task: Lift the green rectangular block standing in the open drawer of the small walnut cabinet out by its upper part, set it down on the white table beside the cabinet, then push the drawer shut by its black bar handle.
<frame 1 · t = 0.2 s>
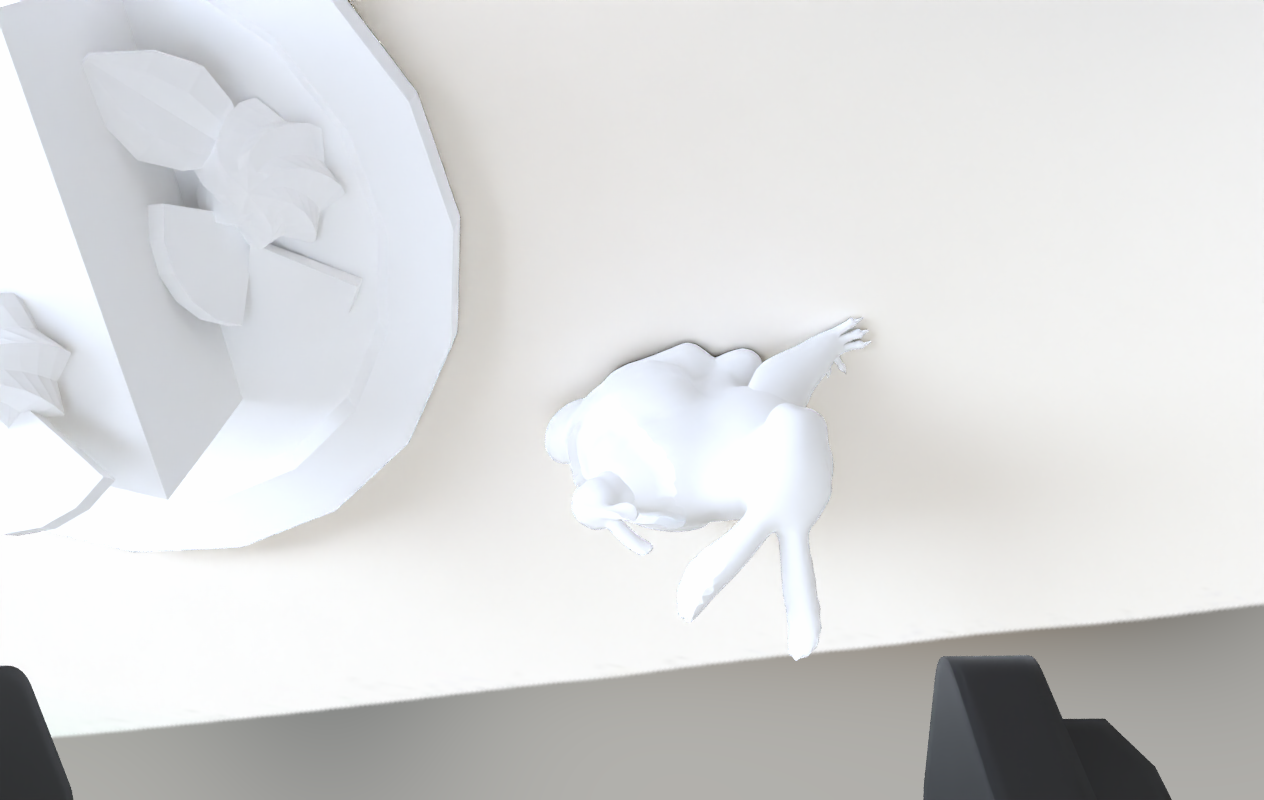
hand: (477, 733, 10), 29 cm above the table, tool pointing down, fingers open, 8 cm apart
rabbit figurine: (712, 421, 42), on the table
dish: (112, 238, 39), on the table
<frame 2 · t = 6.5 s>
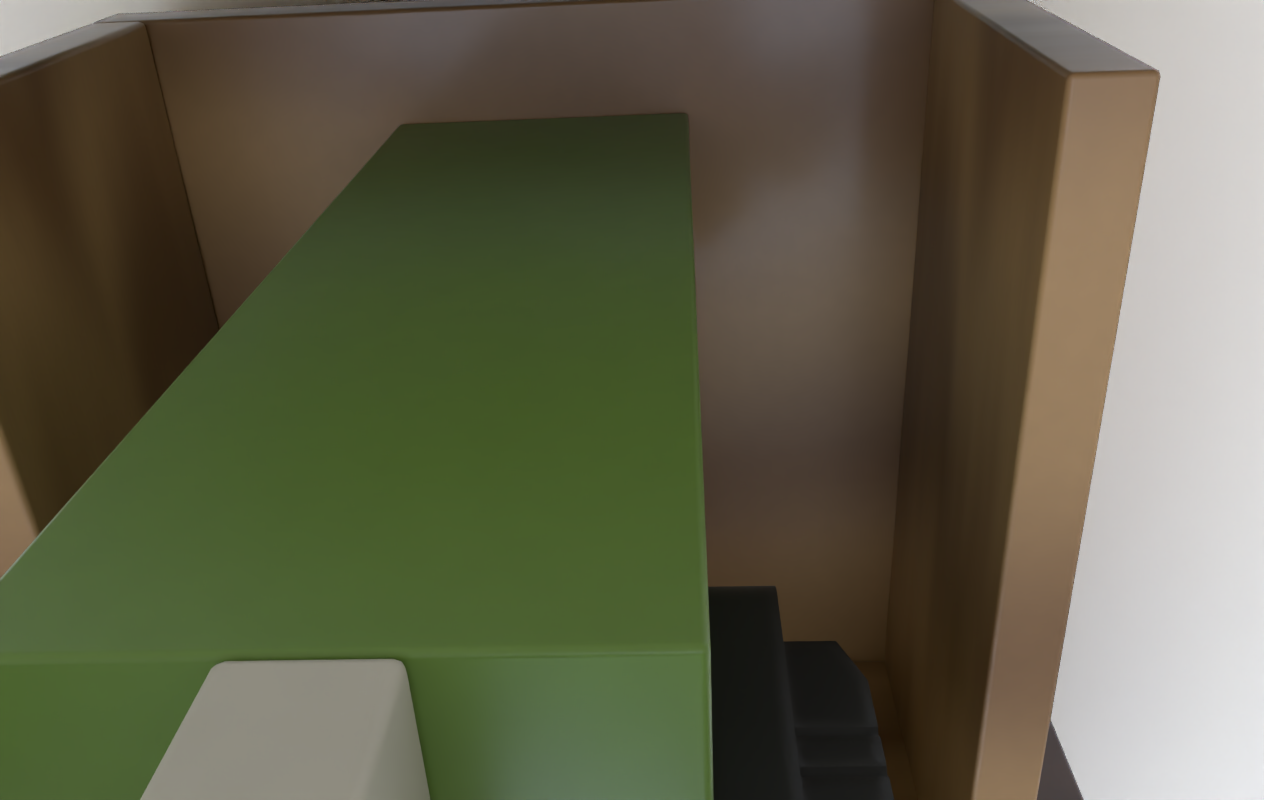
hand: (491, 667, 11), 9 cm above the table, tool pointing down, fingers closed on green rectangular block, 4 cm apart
drawer: (526, 206, 13), point 4 cm above the table, slide at 12.0 cm, touching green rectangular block
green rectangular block: (562, 348, 17), point 2 cm above the table, touching drawer, gripper
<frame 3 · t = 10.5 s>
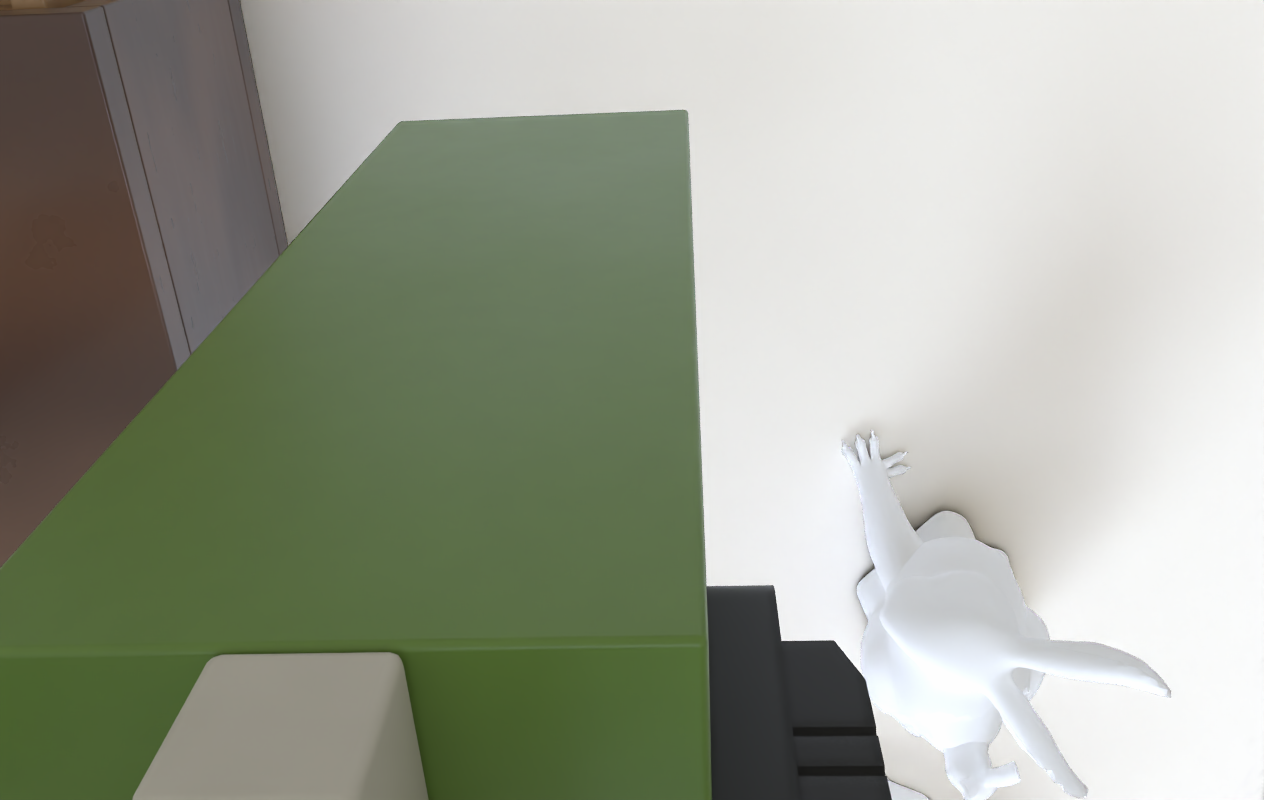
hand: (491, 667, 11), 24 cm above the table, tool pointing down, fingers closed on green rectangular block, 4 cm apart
cabinet: (53, 242, 35), on the table
rabbit figurine: (953, 562, 40), on the table
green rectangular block: (562, 345, 17), point 17 cm above the table, touching gripper
when the fingers open (7 cm above the table, at t = 14.6 s): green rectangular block stays where it is, on the table.
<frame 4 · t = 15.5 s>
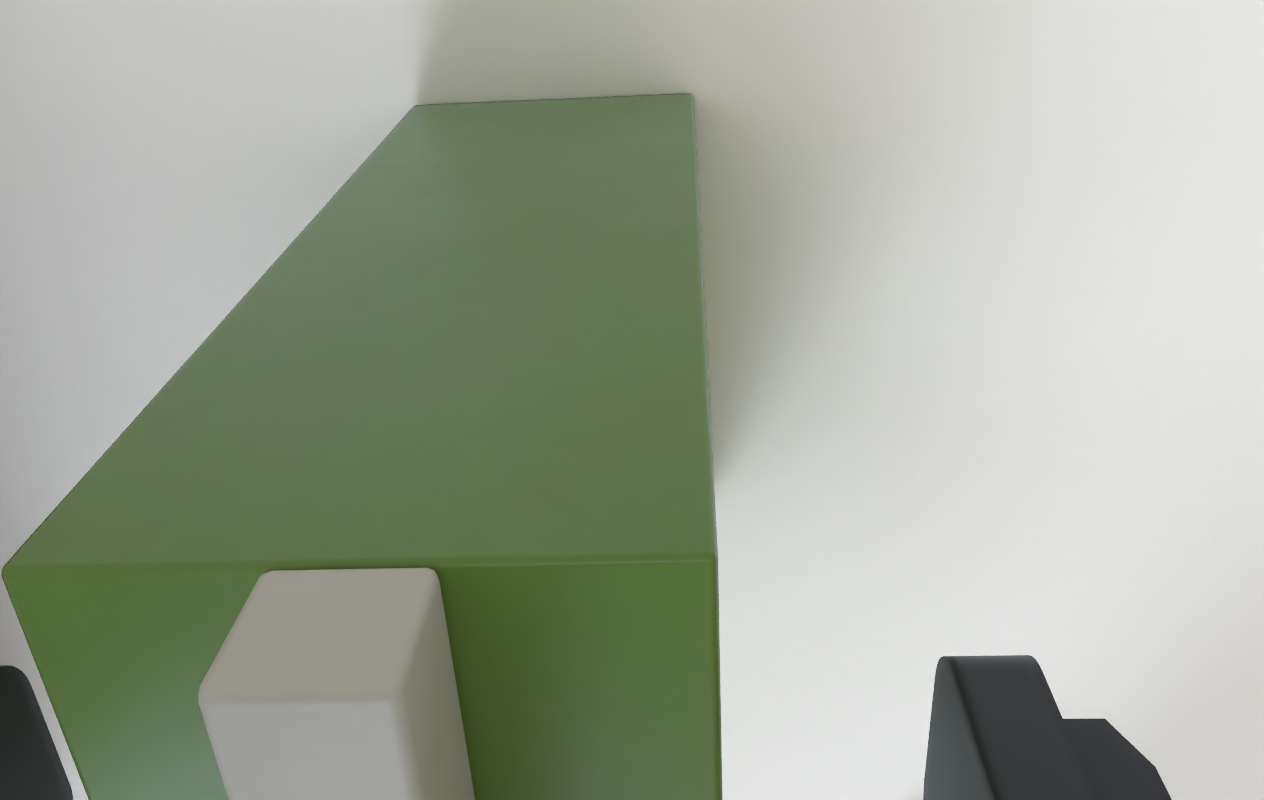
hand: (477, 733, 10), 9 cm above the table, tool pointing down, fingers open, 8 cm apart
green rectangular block: (571, 324, 17), on the table
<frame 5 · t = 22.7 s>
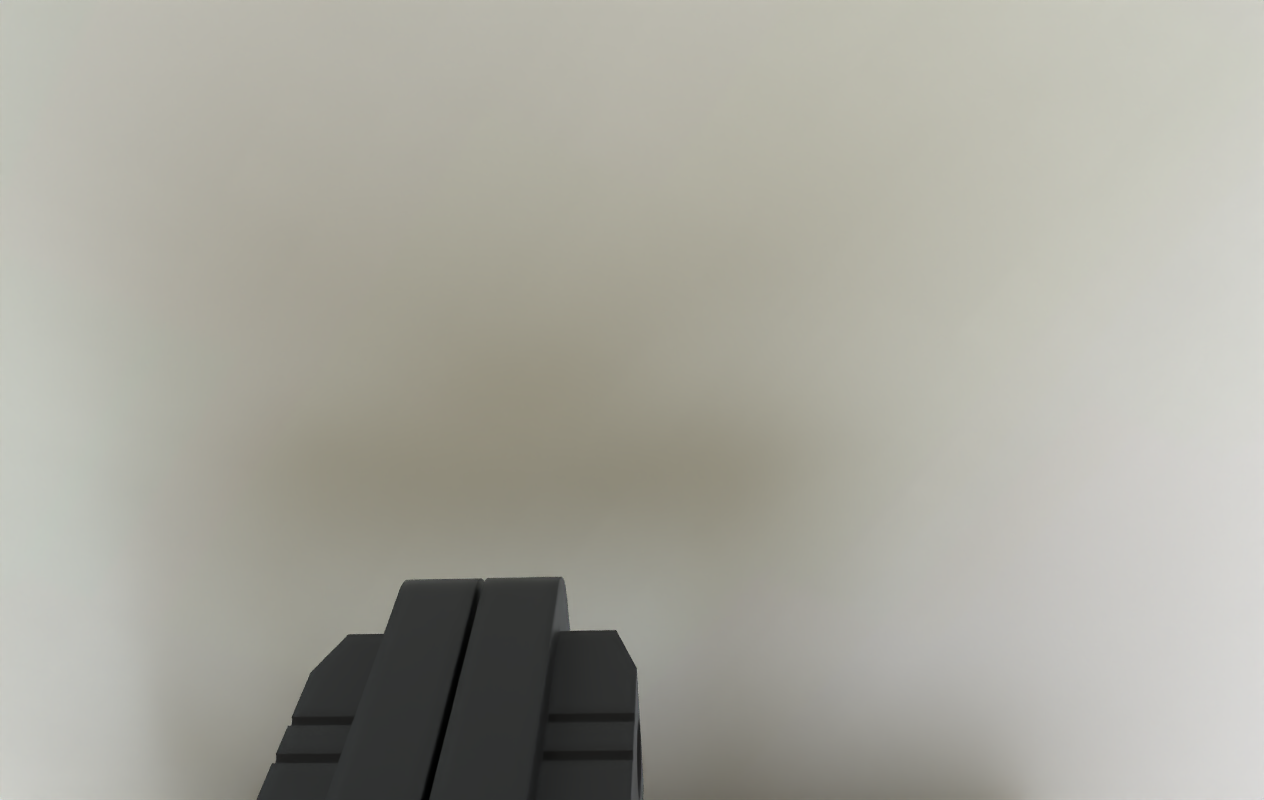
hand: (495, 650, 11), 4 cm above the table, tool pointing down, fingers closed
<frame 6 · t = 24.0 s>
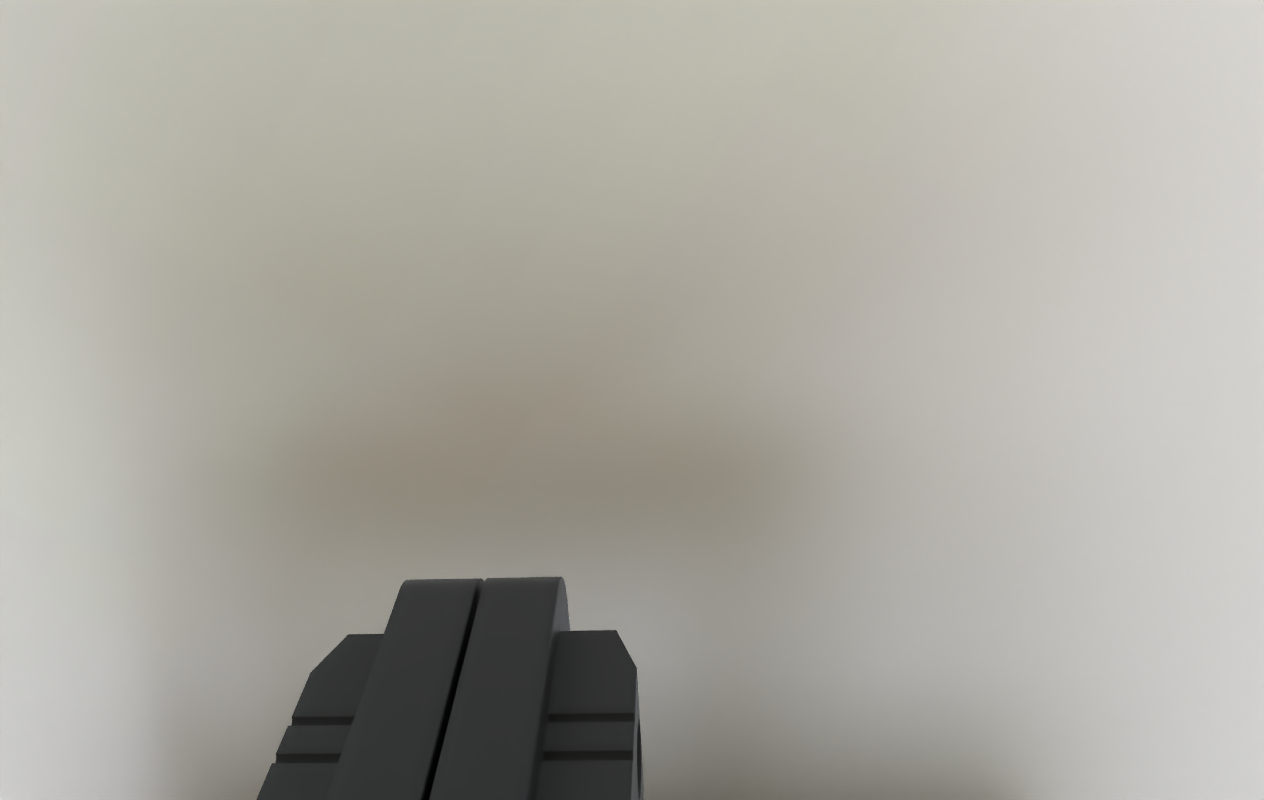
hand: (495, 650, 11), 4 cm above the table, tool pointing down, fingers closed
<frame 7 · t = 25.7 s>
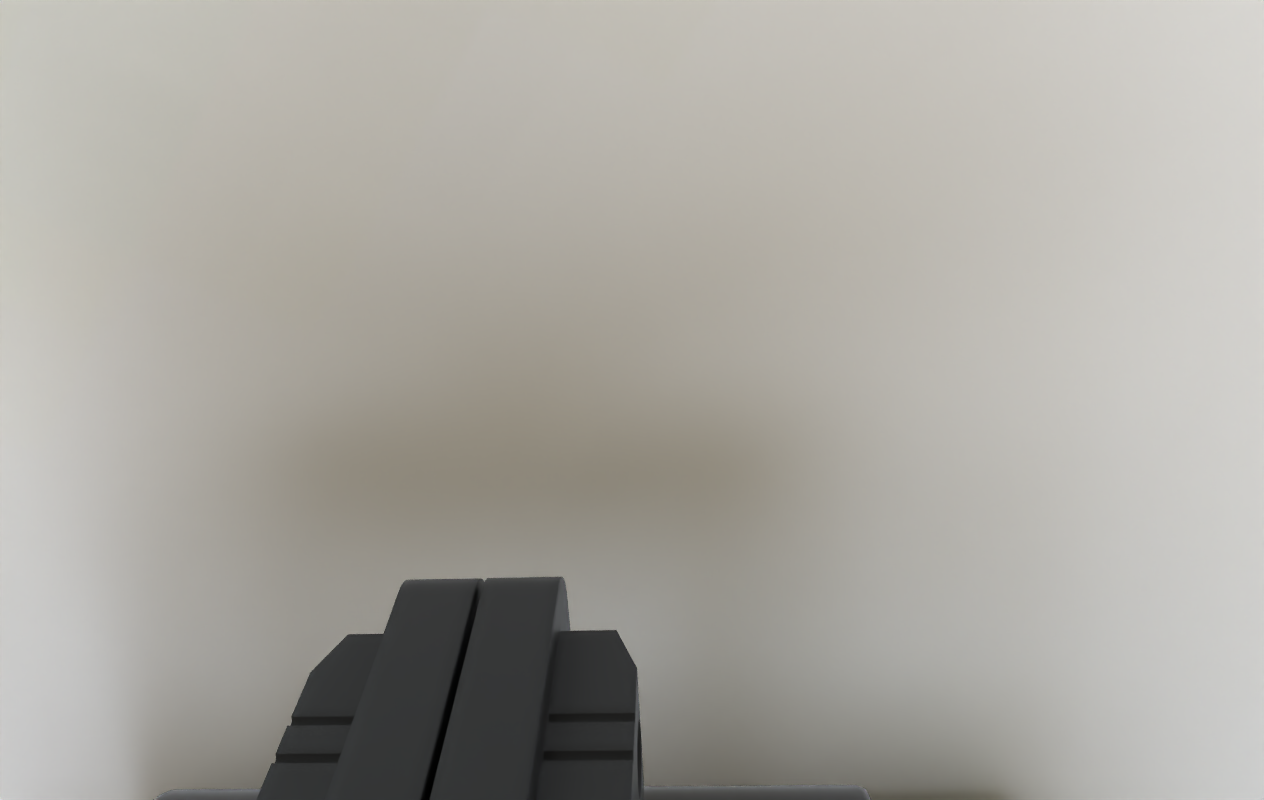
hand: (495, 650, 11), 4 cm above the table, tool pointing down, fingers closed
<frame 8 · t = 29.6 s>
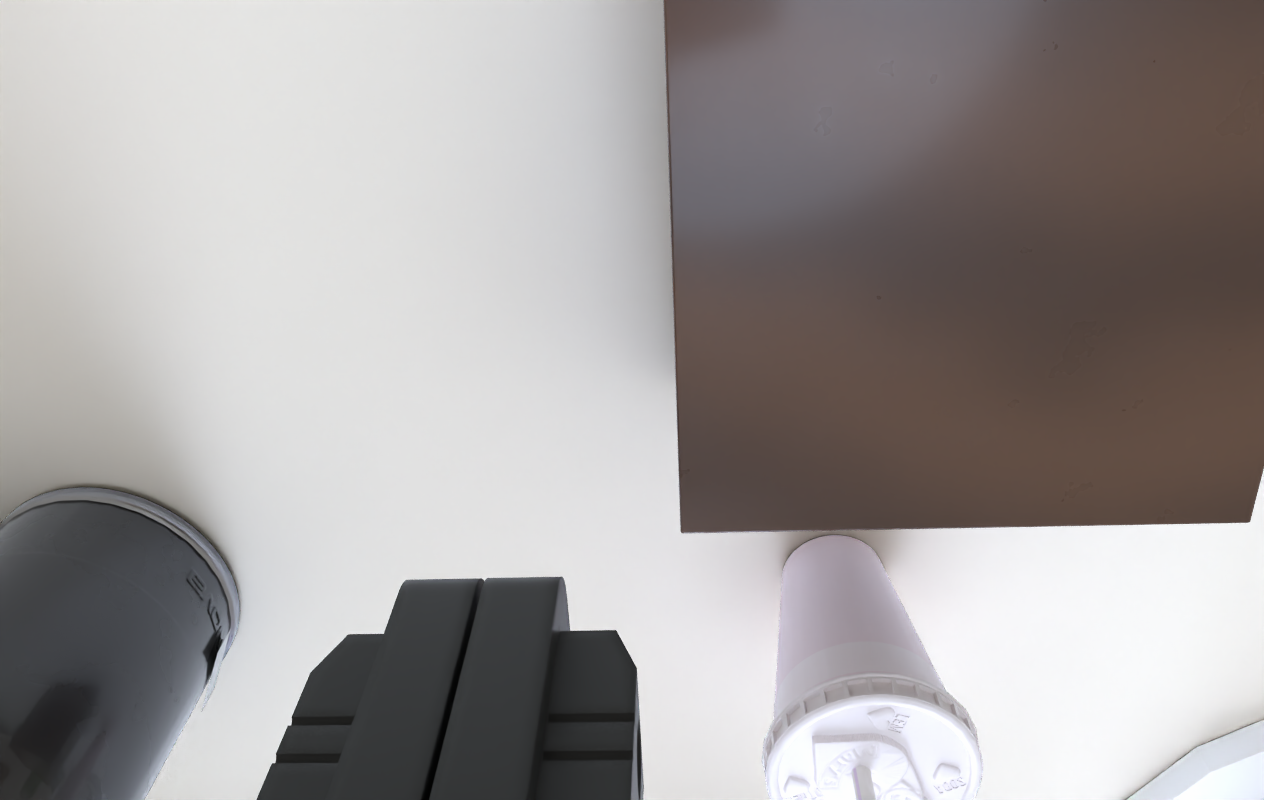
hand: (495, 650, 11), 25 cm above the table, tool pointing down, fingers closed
cabinet: (919, 143, 33), on the table
smoothie: (831, 573, 41), on the table
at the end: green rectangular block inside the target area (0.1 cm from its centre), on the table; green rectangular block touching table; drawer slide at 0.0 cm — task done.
